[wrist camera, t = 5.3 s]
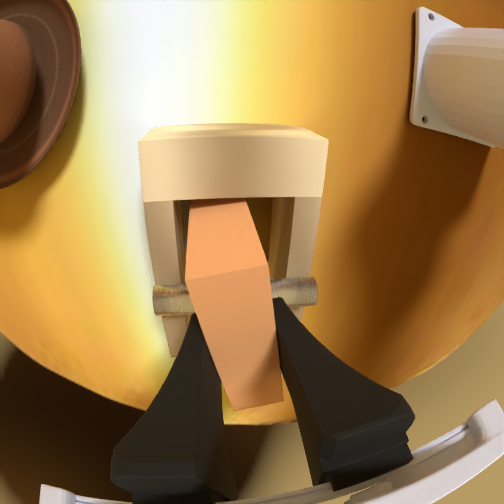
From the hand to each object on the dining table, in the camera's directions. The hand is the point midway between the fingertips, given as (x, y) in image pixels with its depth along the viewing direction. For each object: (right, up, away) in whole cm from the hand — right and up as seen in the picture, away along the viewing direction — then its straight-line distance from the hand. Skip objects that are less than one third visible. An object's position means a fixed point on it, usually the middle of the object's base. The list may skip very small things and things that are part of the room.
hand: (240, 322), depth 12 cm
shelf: (-1, +4, +5) cm, 6 cm away
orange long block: (-1, +2, +3) cm, 4 cm away
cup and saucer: (-13, +13, -2) cm, 18 cm away
